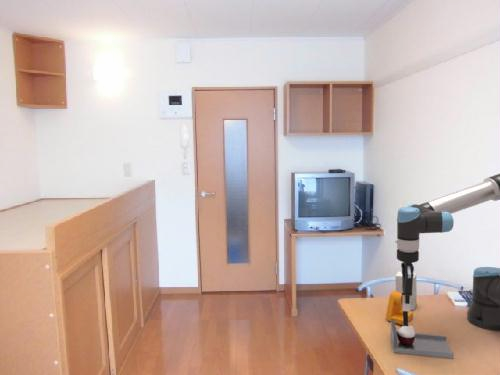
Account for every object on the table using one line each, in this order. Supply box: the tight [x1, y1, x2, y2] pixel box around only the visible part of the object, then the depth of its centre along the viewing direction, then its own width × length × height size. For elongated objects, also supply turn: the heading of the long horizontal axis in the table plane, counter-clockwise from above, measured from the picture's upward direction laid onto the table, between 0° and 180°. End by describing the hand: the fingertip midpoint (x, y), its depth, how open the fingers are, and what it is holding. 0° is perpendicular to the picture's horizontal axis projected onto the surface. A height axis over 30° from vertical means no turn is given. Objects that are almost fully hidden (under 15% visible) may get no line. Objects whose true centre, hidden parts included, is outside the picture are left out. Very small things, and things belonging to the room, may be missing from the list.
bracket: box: [385, 290, 414, 326], centre depth 167 cm, size 11×7×12 cm, turn 134°
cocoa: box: [396, 311, 416, 345], centre depth 147 cm, size 10×6×12 cm, turn 142°
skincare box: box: [395, 270, 418, 311], centre depth 179 cm, size 8×7×16 cm
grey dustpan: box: [390, 319, 455, 360], centre depth 146 cm, size 20×13×7 cm, turn 75°
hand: (406, 310), depth 146 cm, fingers closed
